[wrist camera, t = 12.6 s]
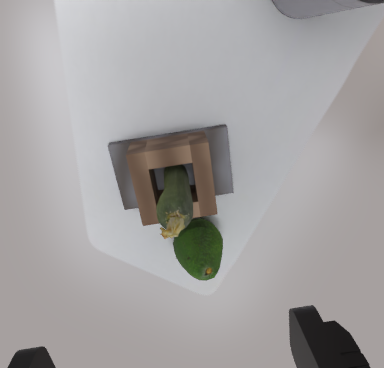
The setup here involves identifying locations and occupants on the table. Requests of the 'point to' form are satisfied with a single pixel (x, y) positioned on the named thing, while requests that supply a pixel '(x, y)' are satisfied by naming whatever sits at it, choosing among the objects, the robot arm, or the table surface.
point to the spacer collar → (169, 156)
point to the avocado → (199, 249)
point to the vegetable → (175, 201)
